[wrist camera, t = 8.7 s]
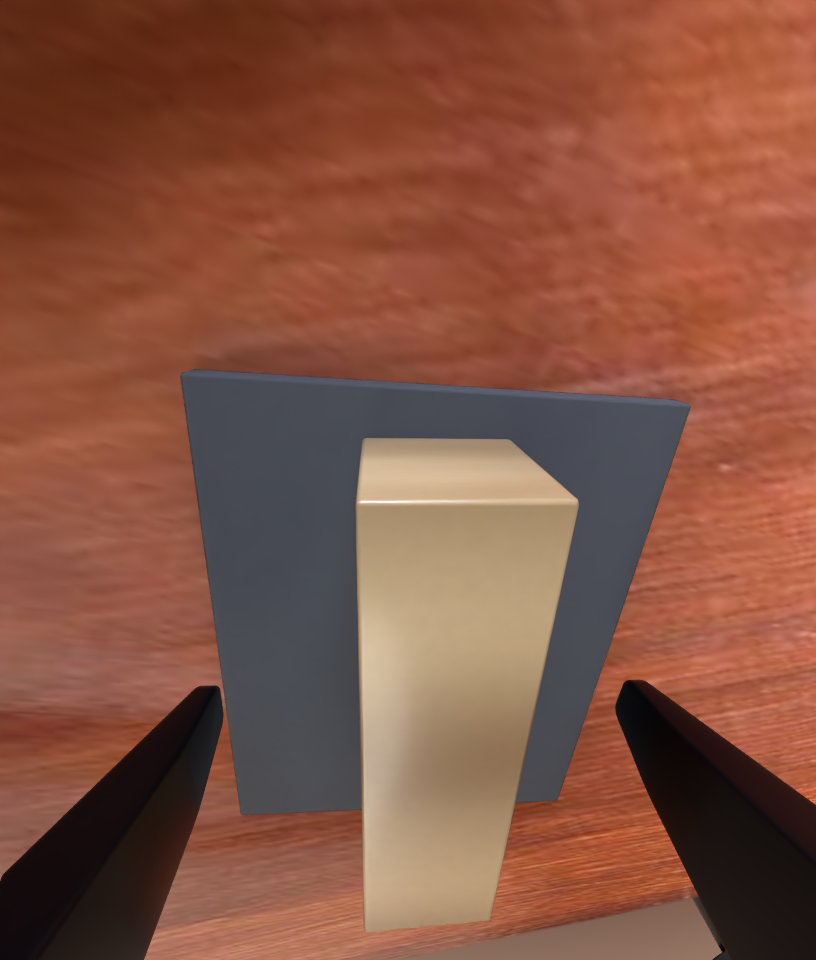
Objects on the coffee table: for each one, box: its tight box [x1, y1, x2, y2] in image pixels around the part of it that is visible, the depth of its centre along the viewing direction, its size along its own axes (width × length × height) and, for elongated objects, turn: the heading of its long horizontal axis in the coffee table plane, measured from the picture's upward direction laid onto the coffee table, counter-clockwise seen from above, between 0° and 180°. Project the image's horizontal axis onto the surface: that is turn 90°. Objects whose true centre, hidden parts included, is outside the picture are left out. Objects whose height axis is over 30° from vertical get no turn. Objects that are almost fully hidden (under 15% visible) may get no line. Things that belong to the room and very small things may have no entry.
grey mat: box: [181, 369, 690, 815], centre depth 10 cm, size 13×10×1 cm
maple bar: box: [355, 438, 579, 932], centre depth 9 cm, size 11×3×3 cm, turn 178°
